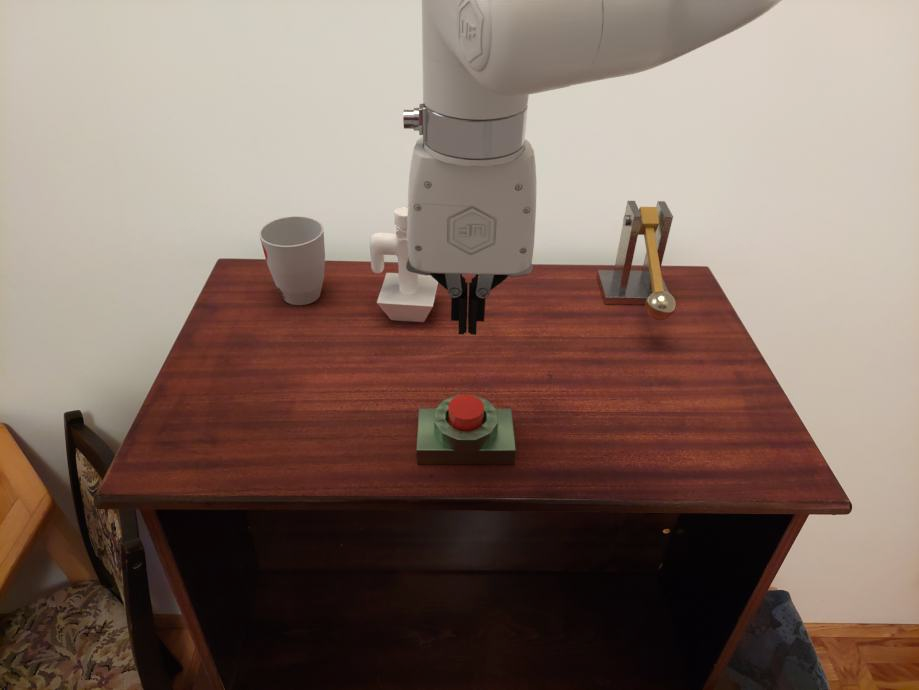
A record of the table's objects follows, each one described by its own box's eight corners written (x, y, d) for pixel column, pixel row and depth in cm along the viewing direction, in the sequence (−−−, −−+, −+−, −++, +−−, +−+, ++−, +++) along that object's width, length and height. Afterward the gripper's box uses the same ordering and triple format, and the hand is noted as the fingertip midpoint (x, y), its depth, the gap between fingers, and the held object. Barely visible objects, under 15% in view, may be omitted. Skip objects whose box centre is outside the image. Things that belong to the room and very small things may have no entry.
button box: (510, 421, 71) (512, 394, 68) (514, 466, 66) (517, 439, 63) (419, 420, 71) (418, 394, 68) (416, 466, 66) (415, 439, 63)
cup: (286, 276, 93) (275, 213, 87) (340, 282, 92) (332, 219, 86) (262, 307, 87) (248, 242, 81) (319, 315, 86) (309, 249, 80)
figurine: (380, 294, 90) (372, 194, 80) (447, 298, 89) (447, 198, 80) (370, 325, 84) (360, 222, 75) (441, 330, 84) (441, 226, 74)
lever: (672, 325, 79) (682, 310, 76) (643, 325, 79) (651, 310, 76) (655, 221, 87) (663, 203, 84) (629, 220, 87) (635, 203, 84)
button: (482, 406, 67) (483, 394, 66) (484, 431, 65) (484, 419, 64) (448, 406, 67) (448, 394, 66) (448, 431, 65) (448, 419, 63)
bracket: (669, 305, 89) (691, 221, 81) (604, 304, 89) (620, 220, 81) (657, 277, 94) (677, 196, 86) (596, 276, 94) (610, 195, 86)
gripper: (366, 145, 44) (381, 349, 56) (583, 150, 44) (553, 353, 56) (378, 107, 50) (389, 300, 62) (569, 111, 50) (544, 303, 62)
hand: (467, 324), depth 59 cm, fingers closed
